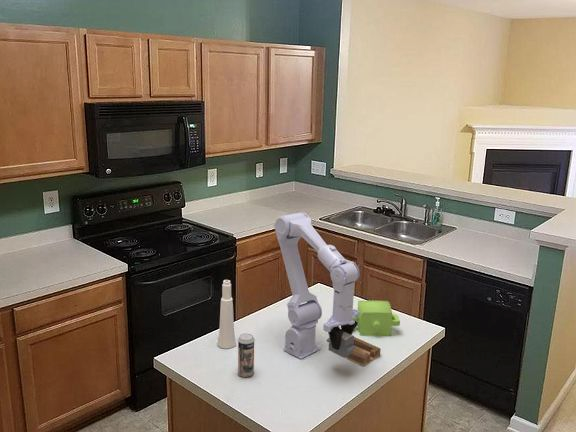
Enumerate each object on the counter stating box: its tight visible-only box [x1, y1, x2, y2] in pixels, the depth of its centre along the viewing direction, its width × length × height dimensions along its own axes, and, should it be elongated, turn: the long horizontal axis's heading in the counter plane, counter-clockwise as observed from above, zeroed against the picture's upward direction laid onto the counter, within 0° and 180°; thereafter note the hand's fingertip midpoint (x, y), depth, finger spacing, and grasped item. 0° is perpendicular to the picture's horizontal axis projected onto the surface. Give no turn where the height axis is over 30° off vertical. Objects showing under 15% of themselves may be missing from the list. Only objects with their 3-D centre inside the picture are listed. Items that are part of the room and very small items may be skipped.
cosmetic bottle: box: [216, 279, 237, 350], centre depth 171 cm, size 6×6×22 cm
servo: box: [326, 332, 356, 359], centre depth 159 cm, size 4×8×6 cm, turn 46°
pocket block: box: [344, 336, 382, 367], centre depth 171 cm, size 9×11×3 cm
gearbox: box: [354, 300, 401, 337], centre depth 185 cm, size 18×10×10 cm, turn 90°
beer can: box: [237, 333, 256, 378], centre depth 157 cm, size 5×5×12 cm
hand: (340, 345), depth 159 cm, fingers closed on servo, 4 cm apart
